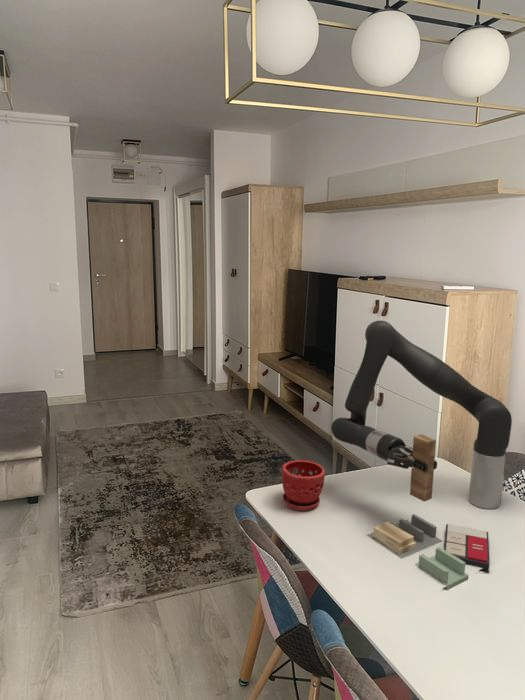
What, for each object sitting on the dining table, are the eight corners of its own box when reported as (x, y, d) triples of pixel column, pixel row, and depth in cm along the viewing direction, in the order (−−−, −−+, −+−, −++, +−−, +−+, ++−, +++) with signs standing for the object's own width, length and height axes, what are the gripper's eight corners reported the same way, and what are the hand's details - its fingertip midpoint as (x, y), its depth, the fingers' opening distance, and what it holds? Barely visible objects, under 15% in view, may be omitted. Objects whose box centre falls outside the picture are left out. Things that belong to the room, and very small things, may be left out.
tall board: (417, 491, 152) (421, 434, 148) (431, 498, 147) (435, 440, 144) (409, 494, 150) (413, 436, 146) (424, 501, 146) (428, 442, 142)
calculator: (443, 552, 138) (446, 521, 152) (442, 566, 139) (445, 534, 153) (489, 561, 135) (488, 529, 148) (488, 576, 136) (487, 542, 149)
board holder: (435, 559, 141) (436, 544, 140) (468, 579, 133) (469, 564, 132) (414, 568, 137) (415, 553, 136) (446, 590, 128) (448, 574, 128)
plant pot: (302, 518, 160) (303, 481, 158) (272, 502, 170) (273, 466, 167) (332, 504, 169) (333, 469, 166) (302, 489, 178) (303, 455, 176)
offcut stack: (388, 530, 152) (389, 520, 151) (415, 547, 144) (416, 537, 143) (372, 536, 149) (372, 526, 148) (399, 554, 140) (399, 544, 140)
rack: (406, 523, 158) (407, 510, 157) (442, 544, 147) (444, 530, 147) (365, 539, 150) (366, 525, 149) (401, 562, 139) (402, 548, 138)
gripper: (367, 438, 154) (414, 459, 140) (402, 429, 161) (450, 448, 147) (366, 463, 156) (412, 486, 141) (401, 453, 163) (448, 474, 149)
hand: (431, 466), depth 144 cm, fingers closed on tall board, 3 cm apart
